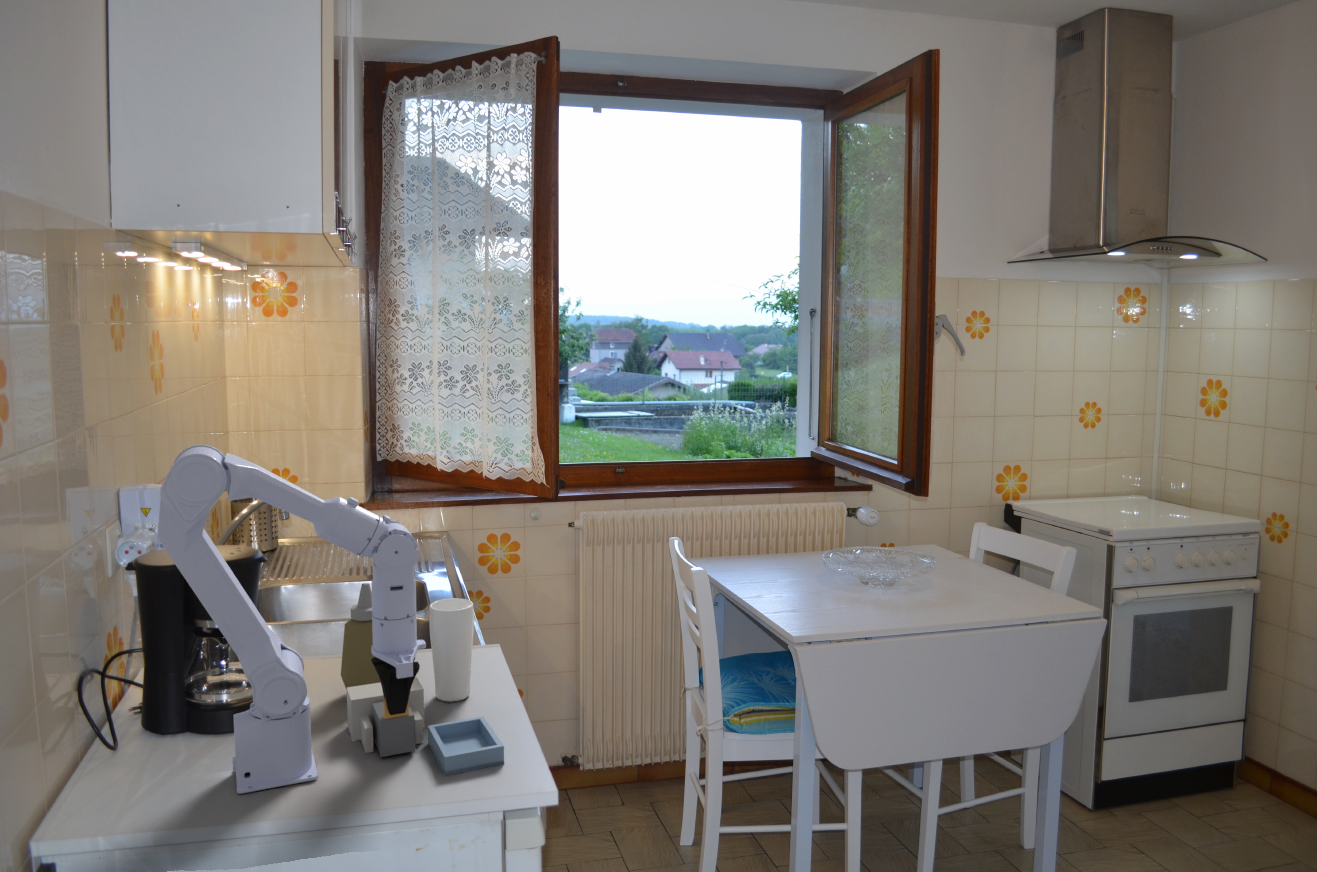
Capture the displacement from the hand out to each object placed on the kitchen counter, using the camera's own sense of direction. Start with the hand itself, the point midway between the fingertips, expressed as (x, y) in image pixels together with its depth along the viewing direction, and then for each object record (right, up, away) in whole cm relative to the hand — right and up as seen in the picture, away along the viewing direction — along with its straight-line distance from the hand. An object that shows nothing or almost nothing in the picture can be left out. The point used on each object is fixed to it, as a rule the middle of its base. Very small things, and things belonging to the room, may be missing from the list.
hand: (396, 710), depth 126 cm
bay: (-3, -5, +7) cm, 9 cm away
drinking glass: (+3, -4, +21) cm, 21 cm away
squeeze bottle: (-10, -4, +21) cm, 23 cm away
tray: (+9, -6, +1) cm, 11 cm away
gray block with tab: (-1, -5, +3) cm, 6 cm away
